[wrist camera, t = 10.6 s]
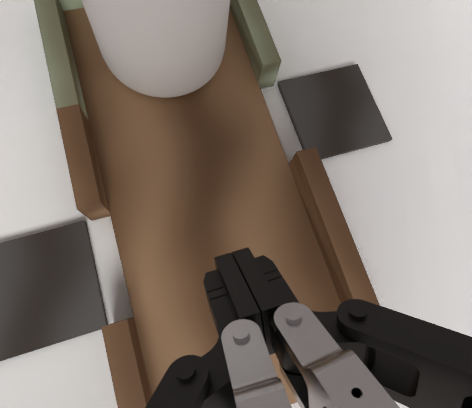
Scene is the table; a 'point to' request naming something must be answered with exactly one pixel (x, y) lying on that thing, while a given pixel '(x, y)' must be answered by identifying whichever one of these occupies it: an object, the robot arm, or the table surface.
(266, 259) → the robot arm
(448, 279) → the table surface
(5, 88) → the table surface
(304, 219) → the lane
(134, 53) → the pill bottle
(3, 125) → the table surface
